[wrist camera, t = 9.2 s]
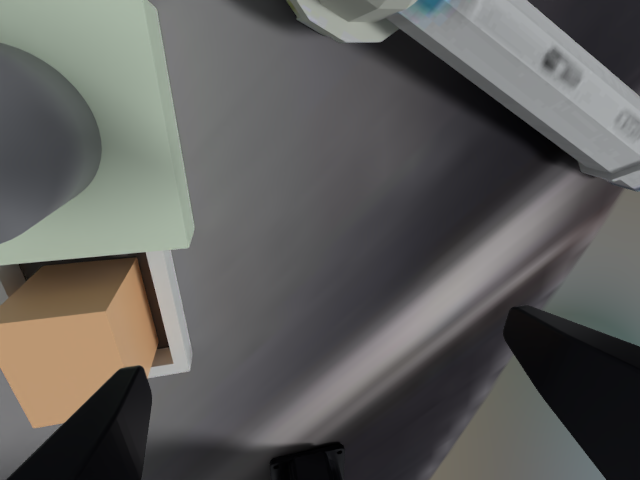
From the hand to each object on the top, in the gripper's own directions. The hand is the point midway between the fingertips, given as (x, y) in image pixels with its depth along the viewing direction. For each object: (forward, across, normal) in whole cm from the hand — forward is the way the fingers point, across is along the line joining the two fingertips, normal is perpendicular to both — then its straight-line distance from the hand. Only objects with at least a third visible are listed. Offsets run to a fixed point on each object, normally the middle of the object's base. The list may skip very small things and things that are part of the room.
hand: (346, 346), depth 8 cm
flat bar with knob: (+12, -12, -6) cm, 18 cm away
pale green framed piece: (+12, +10, +1) cm, 16 cm away
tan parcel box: (+12, +10, +6) cm, 17 cm away
